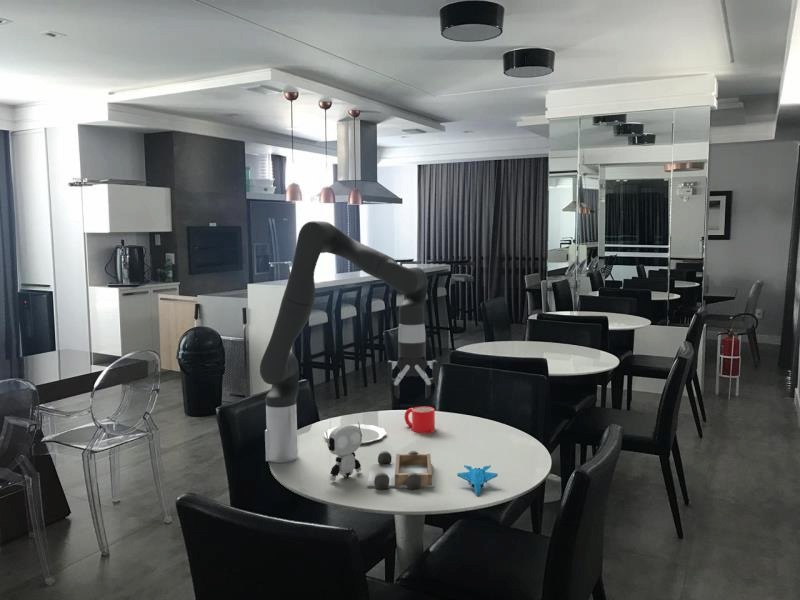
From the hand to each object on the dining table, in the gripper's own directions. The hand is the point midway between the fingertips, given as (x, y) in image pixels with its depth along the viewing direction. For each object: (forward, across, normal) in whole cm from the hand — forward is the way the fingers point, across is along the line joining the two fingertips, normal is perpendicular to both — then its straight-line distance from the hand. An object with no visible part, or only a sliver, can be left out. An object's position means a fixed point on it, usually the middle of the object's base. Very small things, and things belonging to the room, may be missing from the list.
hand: (412, 397), depth 184 cm
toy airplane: (+23, +13, -7) cm, 27 cm away
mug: (+23, +2, +44) cm, 50 cm away
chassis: (+23, -4, 0) cm, 23 cm away
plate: (+23, -20, +37) cm, 48 cm away
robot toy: (+23, -19, -1) cm, 29 cm away
